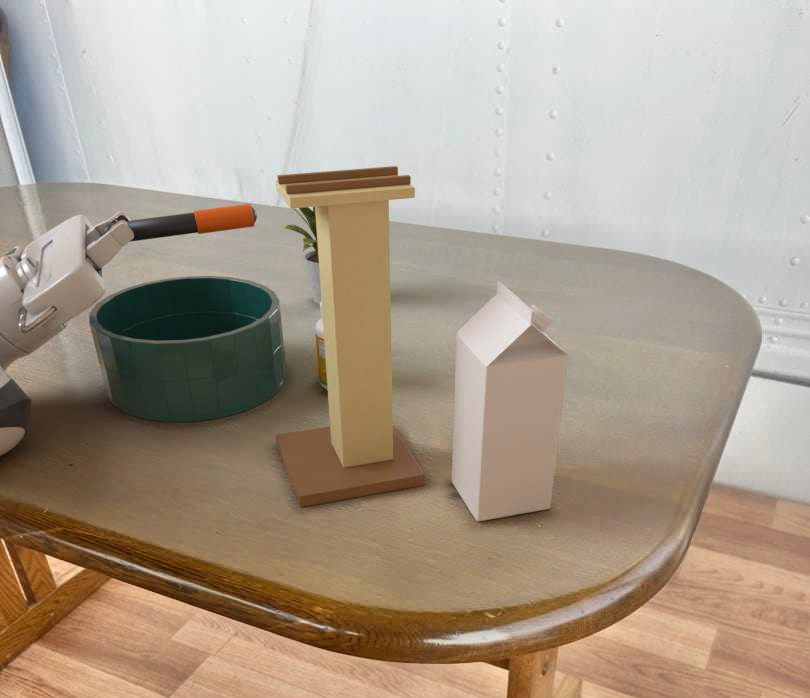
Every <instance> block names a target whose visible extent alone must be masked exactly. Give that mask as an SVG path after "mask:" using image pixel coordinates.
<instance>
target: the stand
mask: <svg viewBox="0 0 810 698" xmlns="http://www.w3.org/2000/svg"><path fill="white" fill-rule="evenodd" d="M276 176H277V180H275V189H276V192H277V193H278V194H279V196H280V197H281V198H282V199H283V200H284V202H285V204H287V206H288V207H289V208H290V209H291V210H292V209H293V210H294V209H299V208H305V207H309V208H313V207H315V213H316V228H317V242H318V257H319V271H320V286H321V301H322V315H323V330H324V344H325V359H326V373H327V388H328V390H327V400H328V401H327V402H328V416H329V417H328V418H329V426H325V427H319V428H312V429H305V430H299V431H292V432H287V433H279V434H275V444H276V448H277V450H278V452H279V455H280V458H281V460H282V463H283V465H284V468H285V471H286V474H287V476H288V479H289V481H290V484H291V486H292V488H293V491H294V494H295V497H296V500H297V501H298V505H299V507H300V508H303V507H308V506H316V505H320V504H326V503H332V502H338V501H343V500H348V499H354V498H360V497H364V496H365V497H366V496H371V495H376V494H381V493H388V492H392V491H393V492H394V491H398V490H405V489H411V488H415V487H421V486H425V473H424V472H423V470H422V469H421V467H420V465H419V464H418V462H417V461H416V458H415V457H414V456H413V454H412V452H411V451H410V450H409V448H408V446H407V445H406V444H405V442H404V440H403V439H402V437H401V435H400V434H399V433H398V431H397V430H396V428H395V426H394V425H393V420H394V419H393V418H394V417H393V369H392V366H393V365H392V363H393V362H392V311H391V309H392V305H391V249H390V247H391V245H390V201H394V200H395V201H396V200H407V199H415V198H416V187H415V186H414V185H412V184H411V183H412V182H411V181H412V180H411V178H412V177H411V175H410V174H405V175H399V168H398V166H396V165H391V166H378V167H367V168H354V169H353V168H351V169H340V170H329V171H315V172H314V171H313V172H301V173H300V172H299V173H290V174H277V175H276Z"/></svg>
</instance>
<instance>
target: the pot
mask: <svg viewBox="0 0 810 698" xmlns="http://www.w3.org/2000/svg"><path fill="white" fill-rule="evenodd" d="M280 304H281V303H280V300H279V297H278V296H277V294H276V292H275V291H274V290H272V289H271V288H269V287H268V286H266V285H264V284H262V283H259V282H256V281H253V280H249V279H243V278H238V277H232V276H219V275H194V276H193V275H189V276H179V277H169V278H162V279H157V280H153V281H147V282H143V283H139V284H136V285H132V286H129V287H126V288H125V287H124V288H122V289H121V290H119V291H116V292H114V293H112V294H109V295H108V296H106V297H104V298H103V299H101V300H100V301H97V302H96V303H95V305H94V306H93V308H92V309H91V310H90V312H89V313H88V324H89V328H90V332H91V335H92V339H93V343H94V348H95V351H96V356H97V358H98V363H99V368H100V371H101V376H102V380H103V384H104V387H105V391H106V394H107V397H108V399H109V401H110V403H111V404H112V405H113V406H114V407H115V408H116V409H118V410H120V411H121V412H123V413H125V414H127V415H129V416H132V417H135V418H139V419H144V420H147V421H155V422H163V423H190V422H191V423H192V422H194V423H195V422H204V421H210V420H216V419H221V418H225V417H230V416H234V415H237V414H239V413H243V412H245V411H249V410H250V409H253V408H256V407H257V406H259V405H261V404H264V403H265V402H267V401H269V400H270V399H271V398H273V397H274V396H275V395H277V393H278V392H280V390H281V389H282V388H283V386H284V384H285V382H286V379H287V364H286V355H285V344H284V335H283V334H284V333H283V324H282V323H283V322H282V314H281V305H280Z"/></svg>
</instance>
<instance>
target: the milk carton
mask: <svg viewBox="0 0 810 698" xmlns="http://www.w3.org/2000/svg"><path fill="white" fill-rule="evenodd" d="M553 322H554V321H553V320H552V318H551V317H549V315H547V314H545V312H543V311H542V310H541V309H540V308H538V306H536V305H535V304H531V305H530V306H529V305H528V304H527V303H525V302H524V301H523V300H522V299H521V298H520V297H519V296H517V295H516V294H515V293H514V292H513V291H512V290H510V288H509V287H507V286H506V285H505V284H504V283H503V282H501V281H497V282H496V293H495V295H494V296H492V298H491V299H489V300H488V301H487V302H486V303H485V304H484V306H482V307H481V308H480V309H479V310H478V311H477V312H476V313H475V314H474V315H473V316H472V317H471V318H470V319H469V320H467V322H466V323H464V325H462V327H460V328H459V330H457V332H456V341H455V342H456V343H455V344H456V345H455V370H454V372H455V373H454V374H455V375H454V399H453V400H454V403H453V428H452V429H453V431H452V456H451V457H452V458H451V459H452V460H451V463H452V464H451V484H452V485H453V487H454V488H455V489H456V491H457V493H458V494H459V496H460V497H461V499H462V501H463V502H464V503H465V505H466V507H467V508H468V511H469V512H470V513H471V515H472V517H473V518H474V519H475V521H476V522H482V521H489V520H494V519H500V518H501V519H502V518H507V517H511V516H518V515H523V514H528V513H533V512H539V511H545V510H550V509H551V504H552V495H553V489H554V479H555V471H556V464H557V456H558V447H559V440H560V439H559V438H560V429H561V423H562V415H563V407H564V406H563V405H564V400H565V399H564V398H565V392H566V391H565V389H566V382H567V374H568V364H569V363H568V362H569V354H568V353H567V352H566V351H565V350H564V349H563V348H561V347H560V346H559V345H558V344H557V343H556V342H555V341H554V340H553V339H551V338H550V337H549V336H548V335H547V334H546V333H545V332H546V331H547V330H548V328H549V327H550V326H551V325H552V323H553Z"/></svg>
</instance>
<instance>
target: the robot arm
mask: <svg viewBox="0 0 810 698" xmlns="http://www.w3.org/2000/svg"><path fill="white" fill-rule="evenodd" d="M131 220H132V219H131V218H130V217H129V216H128V215H127V214H126V212H125V211H122V210H120V211H118V212H117V213H115V214H114V215H113V216H111V217H109V218H108V219H106V220H103V221H101V222H99V223H96V224H94V225H93V224H92V223H91V222H90V221H89V219H88V218H87V217H86V216H85V215H84V214H81V213H80V214H77V215H74V216H71V217H69V218H68V219H66V220H64V221H63V222H61V223H59V224H57V225H55V226H54V227H53V228H51V229H49V230H48V231H46V232H45V233H43V234H42V235H40V236H39V237H37V238H35V239H34V240H33V241H32V242H30V243H29V244H28V245H26V246H25V247H24V248H23V247H22V246H20V245H16V246H15V247H14V246H13V248H11V249H10V250H9V251H7V252H6V253H5V254H4V255H3V256H2V257H0V457H1V456H3V455H5V454H7V453H8V452H9V451H11V450H12V449H14V448H15V447H16V446H18V445H19V444H20V443H21V442H22V441H23V440H24V439H25V438H26V436H27V434H28V431H29V428H30V423H31V416H32V415H31V414H32V413H31V412H32V400H31V398H30V397H29V396H28V395H27V394H26V393H25V391H24V390H23V389H22V388H21V387H20V385H19V384H18V383H17V382H16V381H15V380H14V378H11V377H10V376H9V374H8V372H7V370H8V368H9V367H10V366H11V365H12V364H13V363H14V362H16V361H17V360H20V359H21V358H25V357H29V356H30V355H32V354H33V353H35V351H38V349H40V348H41V347H42V346H44V345H45V344H46V343H48V342H50V341H51V339H53V338H54V337H56V336H57V335H59V334H60V333H61V332H63V331H64V330H65V329H66V328H68V322H69V321H71V320H73V319H74V318H75V317H77V316H78V315H80V314H81V313H84V311H85V310H87V309H89V308H90V307H92V306H93V305H94V304H97V303H98V302H99V300H100V299H101V298H102V297H103V295H105V293H106V278H105V266H106V265H107V264H109V263H110V262H111V261H112V260H113V259H114V258H115V257H116V255H117V254H118V253H119V252H120V251H121V250H122V248H123V247H124V246H125V245H127V244H128V243H130V242H129V241H131V240H132V239H133V238H134V233H133V229H132V228H131V227H130V226H129V224H128V223H127V222H126V221H131ZM115 222H118V223H117V224H115V225H113V226H112V227H111V228H110V231H108V232H107V233H106V234H104V235H103V229H104V227H105V226H106V225H107V224H109V223H115ZM131 242H132V241H131Z"/></svg>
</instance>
